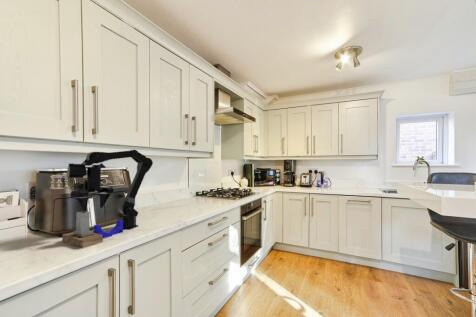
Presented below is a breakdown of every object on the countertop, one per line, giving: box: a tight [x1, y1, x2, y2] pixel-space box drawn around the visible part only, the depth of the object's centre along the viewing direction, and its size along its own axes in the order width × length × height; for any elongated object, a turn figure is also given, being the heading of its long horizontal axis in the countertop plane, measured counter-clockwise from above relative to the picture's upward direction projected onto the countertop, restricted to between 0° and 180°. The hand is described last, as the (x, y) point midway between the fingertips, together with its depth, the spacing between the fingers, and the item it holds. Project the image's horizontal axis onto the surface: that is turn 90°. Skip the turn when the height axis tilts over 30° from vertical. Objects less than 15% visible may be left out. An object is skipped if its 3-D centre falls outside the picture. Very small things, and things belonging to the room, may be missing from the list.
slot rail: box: [61, 231, 104, 249], centre depth 97 cm, size 16×8×3 cm, turn 63°
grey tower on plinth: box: [72, 210, 93, 238], centre depth 97 cm, size 7×4×13 cm, turn 63°
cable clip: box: [93, 219, 124, 239], centre depth 106 cm, size 12×4×6 cm, turn 147°
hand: (93, 209), depth 107 cm, fingers open, 9 cm apart
